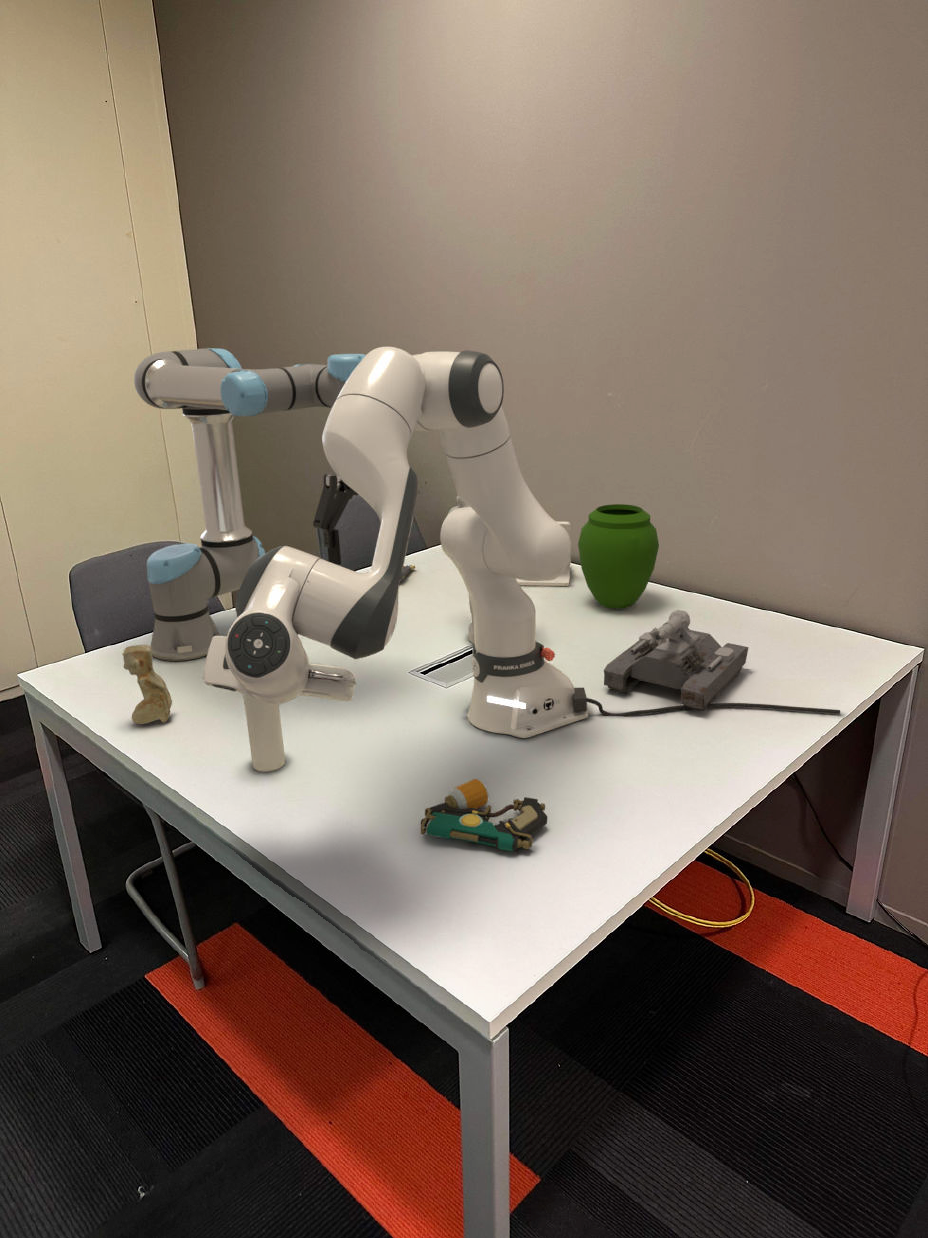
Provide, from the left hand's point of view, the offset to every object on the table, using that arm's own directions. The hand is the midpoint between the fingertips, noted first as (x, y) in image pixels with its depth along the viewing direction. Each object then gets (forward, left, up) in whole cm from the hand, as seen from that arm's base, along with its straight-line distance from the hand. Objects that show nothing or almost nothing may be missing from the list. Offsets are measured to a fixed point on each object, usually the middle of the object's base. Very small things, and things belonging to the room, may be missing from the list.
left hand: (363, 555), depth 163 cm
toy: (+45, +42, -28) cm, 67 cm away
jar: (+9, -31, -28) cm, 43 cm away
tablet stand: (-23, +76, -28) cm, 85 cm away
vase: (+10, +72, -28) cm, 78 cm away
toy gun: (-50, +51, -28) cm, 77 cm away
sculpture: (-21, -36, -28) cm, 51 cm away
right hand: (+26, -37, -6) cm, 46 cm away
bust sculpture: (-2, +36, -28) cm, 45 cm away
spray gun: (+50, -21, -28) cm, 61 cm away
